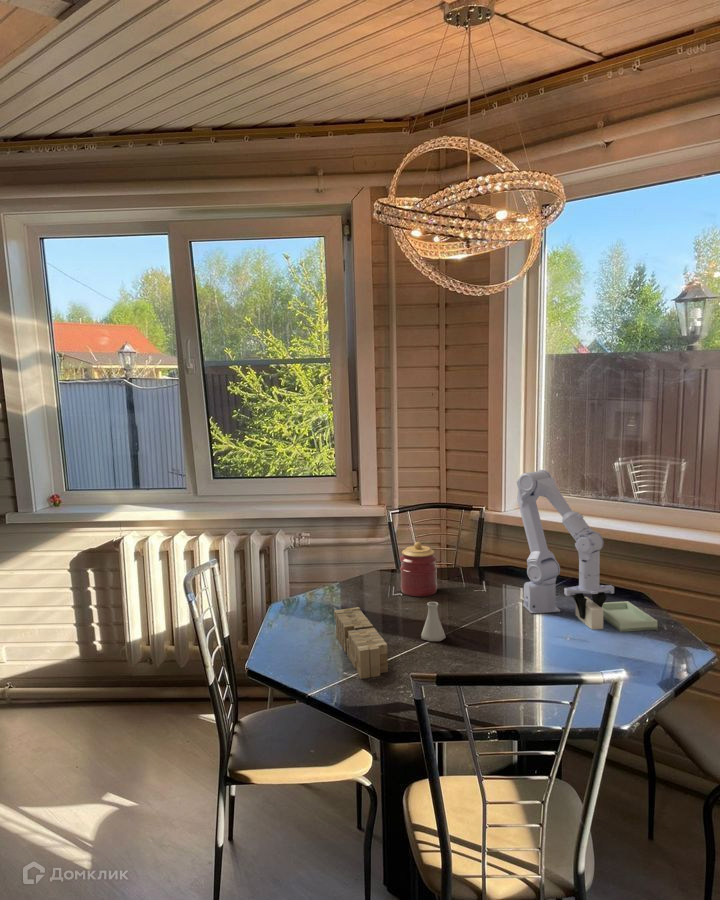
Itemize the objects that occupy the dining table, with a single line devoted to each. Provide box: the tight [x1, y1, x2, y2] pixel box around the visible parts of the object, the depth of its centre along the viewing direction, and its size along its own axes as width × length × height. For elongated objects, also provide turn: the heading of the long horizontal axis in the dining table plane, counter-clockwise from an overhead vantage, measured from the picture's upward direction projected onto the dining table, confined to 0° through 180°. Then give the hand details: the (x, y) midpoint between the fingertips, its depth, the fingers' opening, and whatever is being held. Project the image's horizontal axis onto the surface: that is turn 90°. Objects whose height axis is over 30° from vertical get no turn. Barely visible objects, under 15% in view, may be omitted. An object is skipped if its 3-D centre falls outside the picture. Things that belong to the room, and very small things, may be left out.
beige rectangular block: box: [575, 596, 604, 630], centre depth 188 cm, size 4×11×6 cm, turn 5°
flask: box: [420, 601, 447, 642], centre depth 180 cm, size 7×7×10 cm
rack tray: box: [601, 600, 659, 633], centre depth 189 cm, size 11×17×2 cm, turn 5°
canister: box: [399, 541, 438, 597], centre depth 221 cm, size 13×13×18 cm
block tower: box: [333, 606, 389, 680], centre depth 171 cm, size 8×8×29 cm
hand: (589, 617), depth 188 cm, fingers closed on beige rectangular block, 3 cm apart
